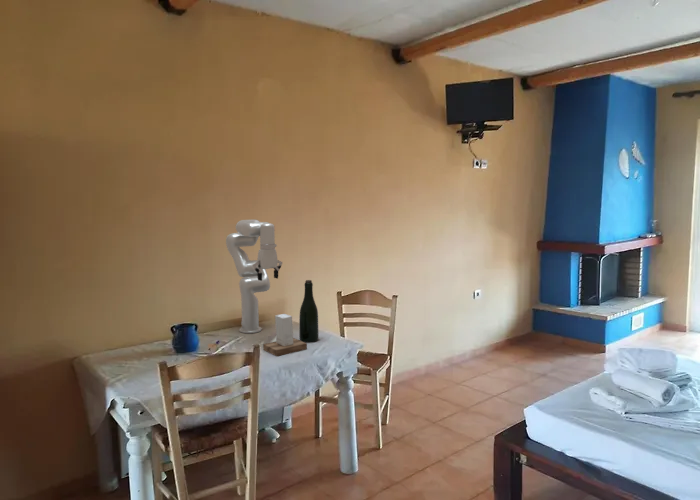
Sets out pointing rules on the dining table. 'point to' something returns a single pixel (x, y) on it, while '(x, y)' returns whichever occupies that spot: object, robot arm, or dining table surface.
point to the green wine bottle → (308, 316)
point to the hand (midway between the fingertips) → (268, 279)
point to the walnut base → (284, 347)
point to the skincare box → (284, 330)
